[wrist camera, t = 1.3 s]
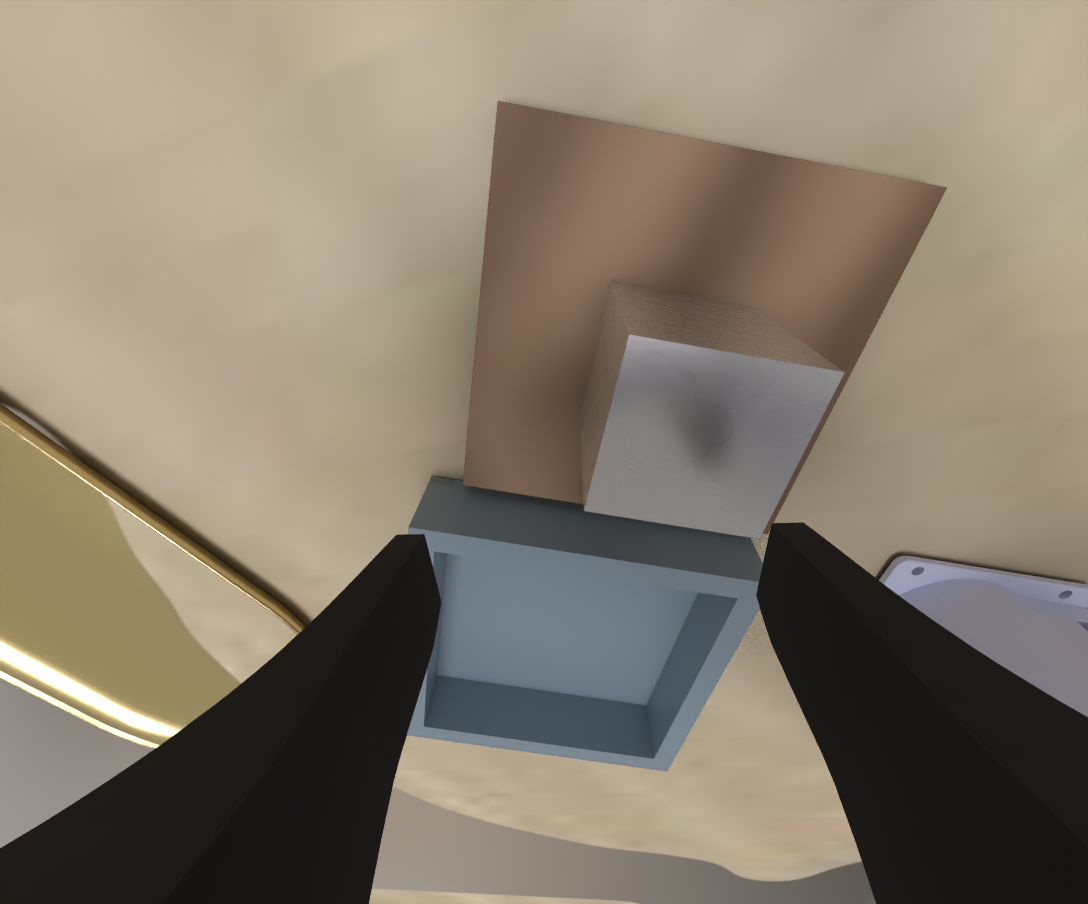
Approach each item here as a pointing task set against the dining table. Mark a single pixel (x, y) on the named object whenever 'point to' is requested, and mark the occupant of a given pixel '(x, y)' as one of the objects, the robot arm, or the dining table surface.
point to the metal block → (696, 411)
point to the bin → (575, 625)
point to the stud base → (658, 267)
